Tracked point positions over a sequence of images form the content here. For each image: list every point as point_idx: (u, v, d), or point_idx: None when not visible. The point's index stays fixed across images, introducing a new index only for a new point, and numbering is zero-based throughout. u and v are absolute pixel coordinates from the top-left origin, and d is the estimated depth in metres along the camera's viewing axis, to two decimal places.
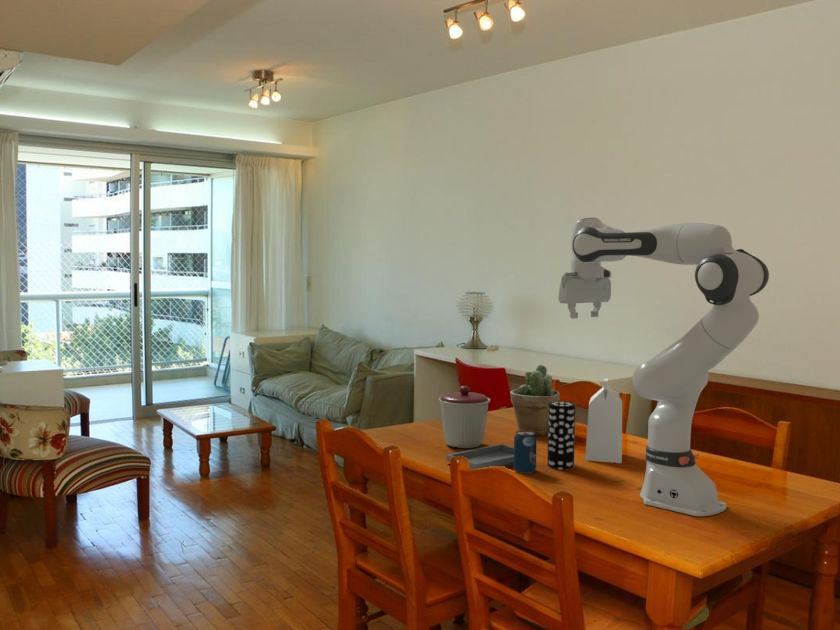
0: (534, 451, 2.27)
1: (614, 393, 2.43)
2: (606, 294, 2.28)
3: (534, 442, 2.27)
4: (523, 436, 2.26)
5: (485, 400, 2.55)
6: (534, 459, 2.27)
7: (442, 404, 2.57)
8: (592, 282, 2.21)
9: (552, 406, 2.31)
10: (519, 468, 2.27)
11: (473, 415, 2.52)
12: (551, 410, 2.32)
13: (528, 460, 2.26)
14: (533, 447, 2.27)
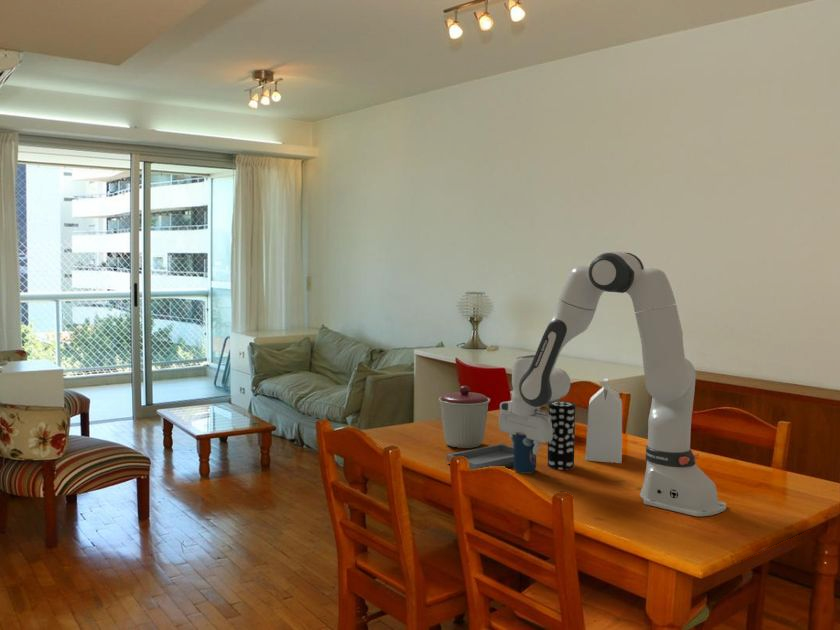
0: None
1: (614, 393, 2.43)
2: None
3: None
4: (523, 436, 2.26)
5: (485, 400, 2.55)
6: (534, 459, 2.27)
7: (442, 404, 2.57)
8: None
9: (552, 406, 2.31)
10: (519, 468, 2.27)
11: (473, 415, 2.52)
12: (551, 410, 2.32)
13: (528, 460, 2.26)
14: None
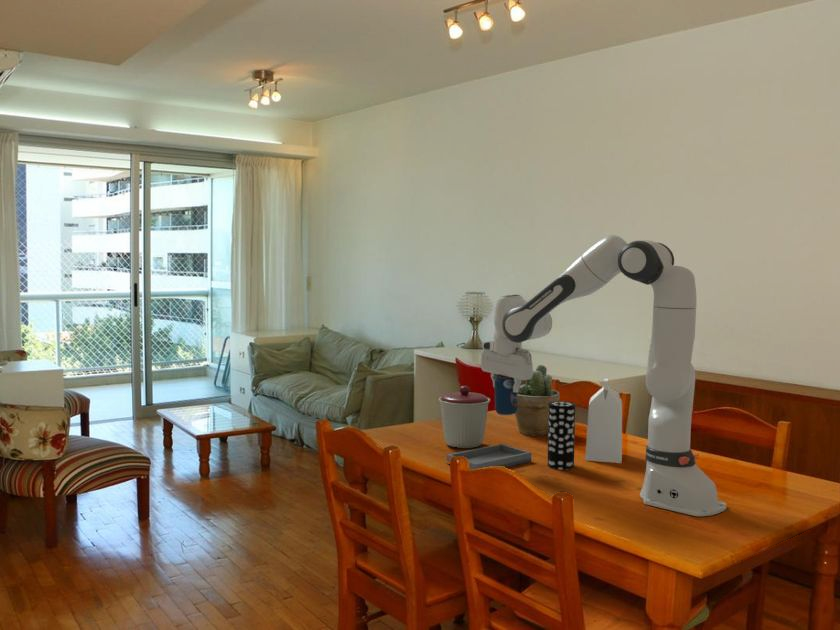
0: (514, 394, 2.30)
1: (614, 393, 2.43)
2: None
3: None
4: (503, 379, 2.29)
5: (485, 400, 2.55)
6: (515, 401, 2.31)
7: (442, 404, 2.57)
8: None
9: (552, 406, 2.31)
10: (501, 411, 2.30)
11: (473, 415, 2.52)
12: (551, 410, 2.32)
13: (509, 402, 2.30)
14: None
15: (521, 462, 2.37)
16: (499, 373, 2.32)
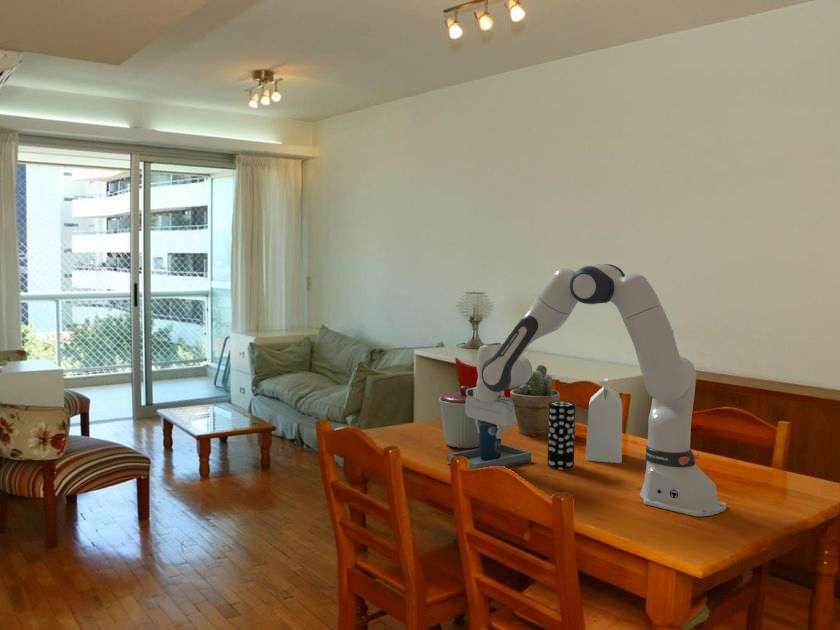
0: (499, 440, 2.36)
1: (614, 393, 2.43)
2: None
3: None
4: (488, 426, 2.35)
5: None
6: (499, 448, 2.36)
7: (442, 404, 2.57)
8: None
9: (552, 406, 2.31)
10: (485, 457, 2.35)
11: None
12: (551, 410, 2.32)
13: (494, 449, 2.35)
14: None
15: (521, 462, 2.37)
16: (483, 419, 2.37)
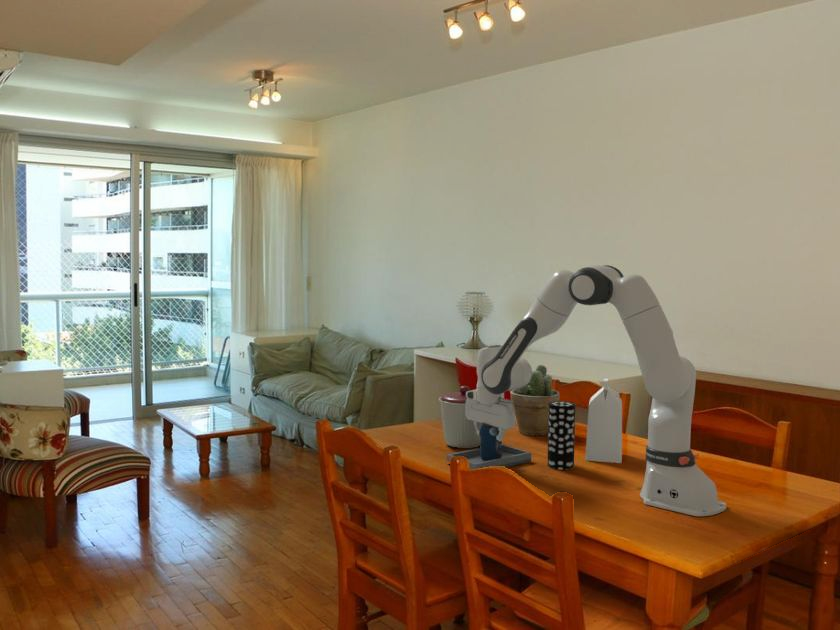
0: None
1: (614, 393, 2.43)
2: None
3: None
4: (489, 426, 2.35)
5: None
6: (500, 448, 2.36)
7: (442, 404, 2.57)
8: None
9: (552, 406, 2.31)
10: (486, 457, 2.35)
11: None
12: (551, 410, 2.32)
13: (494, 449, 2.35)
14: None
15: (521, 462, 2.37)
16: (483, 422, 2.37)
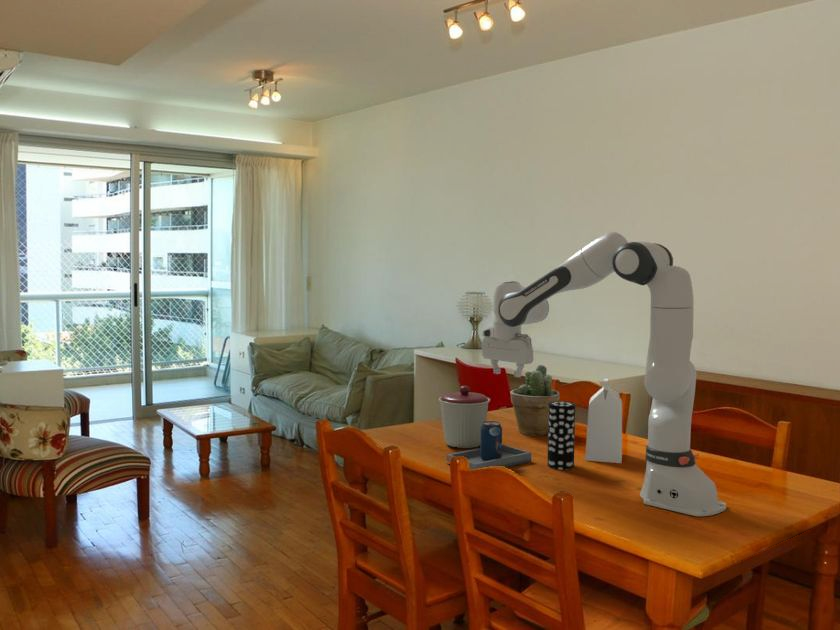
0: (500, 441, 2.36)
1: (614, 393, 2.43)
2: None
3: (500, 432, 2.35)
4: (489, 426, 2.35)
5: (485, 400, 2.55)
6: (500, 448, 2.36)
7: (442, 404, 2.57)
8: None
9: (552, 406, 2.31)
10: (486, 457, 2.35)
11: (473, 415, 2.52)
12: (551, 410, 2.32)
13: (494, 449, 2.35)
14: (499, 437, 2.35)
15: (521, 462, 2.37)
16: (500, 359, 2.37)
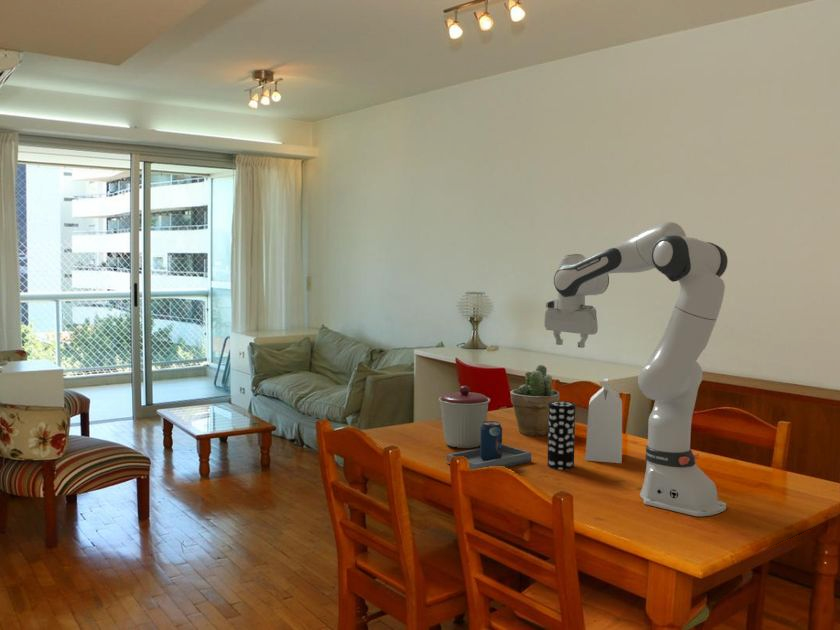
0: (500, 441, 2.36)
1: (614, 393, 2.43)
2: None
3: (500, 432, 2.35)
4: (489, 426, 2.35)
5: (485, 400, 2.55)
6: (500, 448, 2.36)
7: (442, 404, 2.57)
8: None
9: (552, 406, 2.31)
10: (486, 457, 2.35)
11: (473, 415, 2.52)
12: (551, 410, 2.32)
13: (494, 449, 2.35)
14: (499, 437, 2.35)
15: (521, 462, 2.37)
16: (564, 330, 2.43)
